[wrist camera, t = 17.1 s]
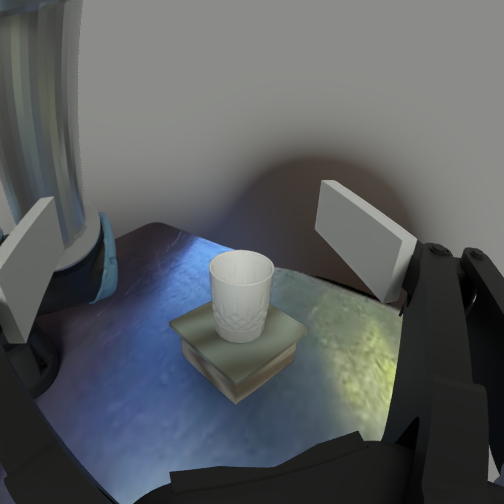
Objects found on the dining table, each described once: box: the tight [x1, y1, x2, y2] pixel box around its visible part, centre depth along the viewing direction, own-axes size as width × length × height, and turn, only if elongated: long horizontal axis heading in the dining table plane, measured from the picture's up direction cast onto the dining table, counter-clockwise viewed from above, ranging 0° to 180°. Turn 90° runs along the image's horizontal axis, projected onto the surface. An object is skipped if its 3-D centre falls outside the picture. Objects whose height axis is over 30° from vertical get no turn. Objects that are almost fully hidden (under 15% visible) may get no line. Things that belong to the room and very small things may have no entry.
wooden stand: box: [169, 301, 309, 405], centre depth 46 cm, size 14×14×7 cm
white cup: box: [209, 250, 274, 344], centre depth 41 cm, size 8×8×10 cm
